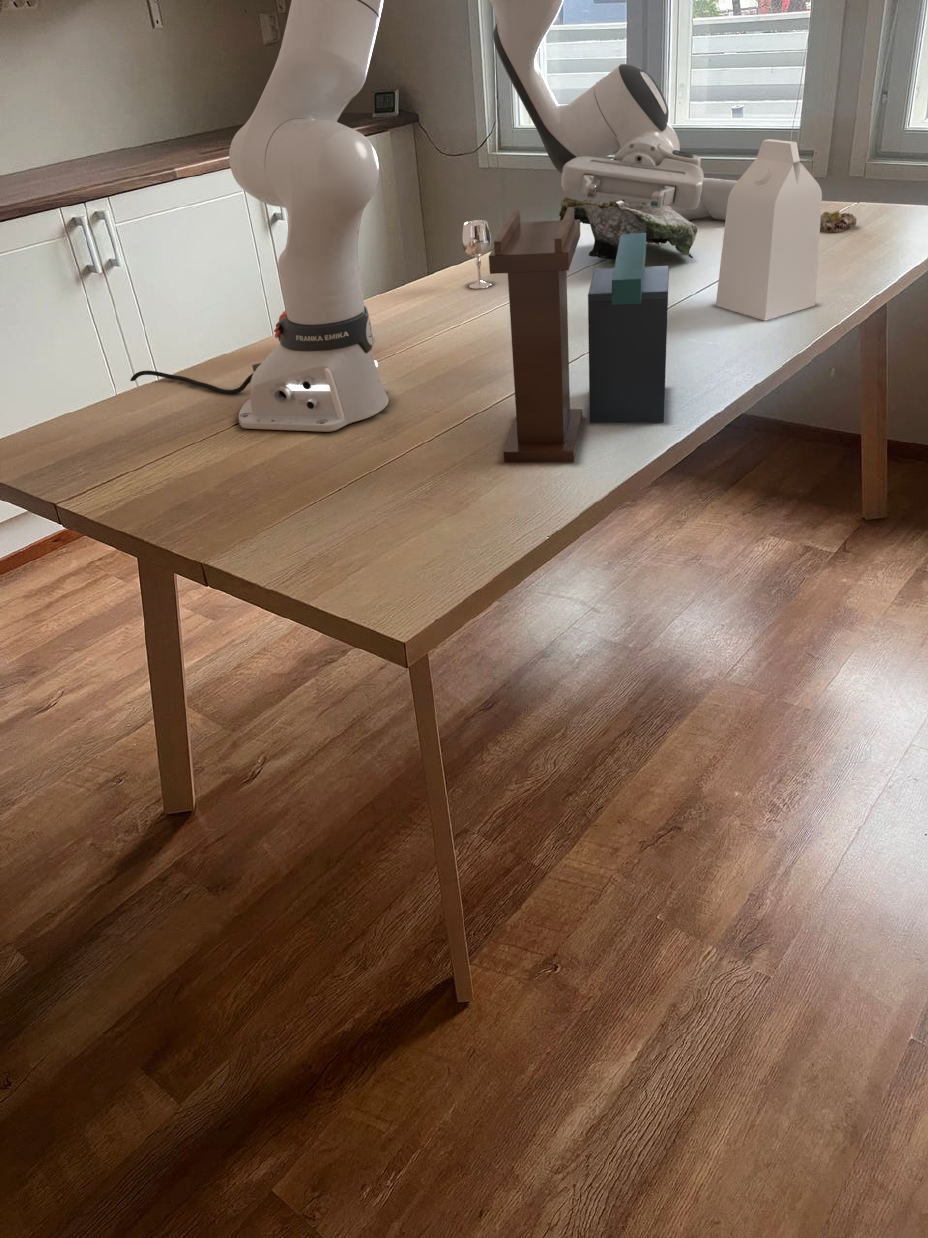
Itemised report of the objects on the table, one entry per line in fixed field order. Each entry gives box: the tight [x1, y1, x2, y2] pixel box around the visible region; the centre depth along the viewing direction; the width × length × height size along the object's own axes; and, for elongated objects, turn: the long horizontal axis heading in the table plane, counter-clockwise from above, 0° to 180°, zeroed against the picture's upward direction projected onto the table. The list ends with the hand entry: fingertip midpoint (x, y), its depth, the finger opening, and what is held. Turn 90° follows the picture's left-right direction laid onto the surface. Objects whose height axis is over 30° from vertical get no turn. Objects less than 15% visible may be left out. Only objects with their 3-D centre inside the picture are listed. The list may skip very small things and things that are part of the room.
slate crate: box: [587, 265, 670, 424], centre depth 130 cm, size 12×10×18 cm
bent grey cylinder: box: [669, 177, 738, 221], centre depth 219 cm, size 18×11×20 cm
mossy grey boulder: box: [558, 197, 698, 261], centre depth 196 cm, size 29×30×15 cm
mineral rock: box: [820, 210, 858, 233], centre depth 205 cm, size 11×4×8 cm
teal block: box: [612, 233, 647, 305], centre depth 125 cm, size 23×4×3 cm, turn 169°
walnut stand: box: [488, 207, 584, 463], centre depth 120 cm, size 16×9×28 cm, turn 169°
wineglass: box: [461, 219, 492, 290], centre depth 189 cm, size 6×6×12 cm
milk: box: [715, 138, 823, 322], centre depth 159 cm, size 12×12×26 cm
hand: (622, 196), depth 132 cm, fingers open, 8 cm apart
